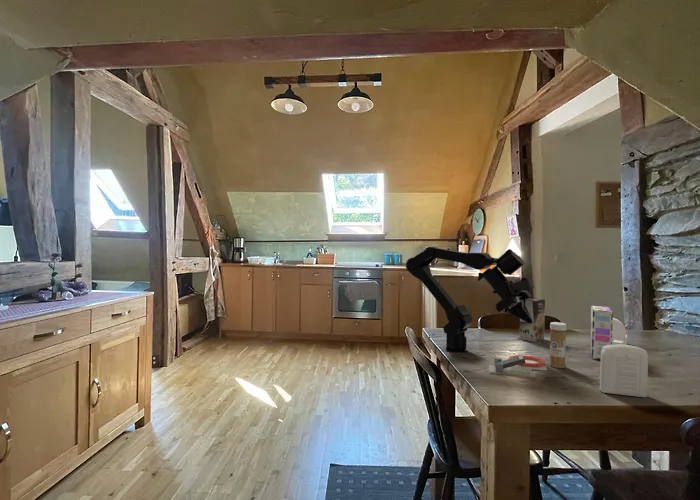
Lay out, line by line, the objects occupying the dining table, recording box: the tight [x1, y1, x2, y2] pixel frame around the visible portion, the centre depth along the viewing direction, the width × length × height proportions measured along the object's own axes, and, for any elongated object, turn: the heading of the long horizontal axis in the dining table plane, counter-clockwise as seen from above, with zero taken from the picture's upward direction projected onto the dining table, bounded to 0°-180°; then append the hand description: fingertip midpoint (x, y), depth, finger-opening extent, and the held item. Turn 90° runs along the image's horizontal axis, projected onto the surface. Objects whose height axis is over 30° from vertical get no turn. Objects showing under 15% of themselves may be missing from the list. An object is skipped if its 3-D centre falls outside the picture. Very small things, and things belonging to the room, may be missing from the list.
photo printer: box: [599, 344, 649, 398], centre depth 102 cm, size 10×4×12 cm, turn 72°
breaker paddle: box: [498, 354, 526, 369], centre depth 119 cm, size 1×4×8 cm
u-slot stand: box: [612, 317, 628, 345], centre depth 154 cm, size 10×18×11 cm, turn 141°
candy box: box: [590, 305, 614, 361], centre depth 139 cm, size 14×6×16 cm, turn 151°
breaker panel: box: [488, 357, 536, 379], centre depth 119 cm, size 12×7×3 cm, turn 74°
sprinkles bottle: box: [549, 321, 568, 369], centre depth 126 cm, size 5×5×13 cm
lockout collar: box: [507, 354, 548, 371], centre depth 127 cm, size 10×10×2 cm
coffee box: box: [518, 297, 546, 342], centre depth 164 cm, size 9×6×16 cm
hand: (531, 322), depth 129 cm, fingers closed
